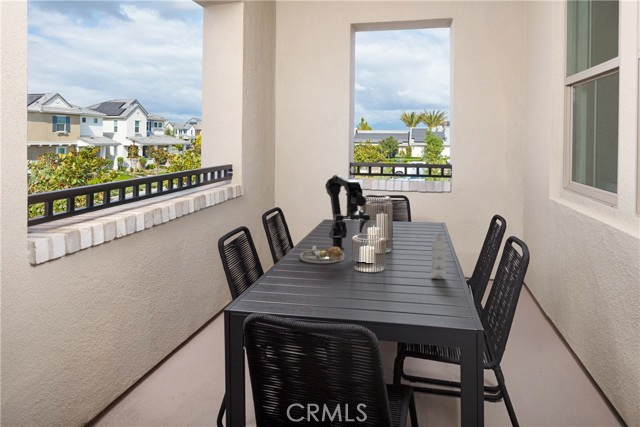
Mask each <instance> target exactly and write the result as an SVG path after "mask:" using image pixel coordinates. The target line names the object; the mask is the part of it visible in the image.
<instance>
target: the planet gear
mask: <svg viewBox="0 0 640 427" xmlns="http://www.w3.org/2000/svg"><path fill="white" fill-rule="evenodd" d="M327 250H328V255H329V256H331V257H339V256H341V252H342V249H340V248H339V247H331V246H330V248H328V249H327Z"/></svg>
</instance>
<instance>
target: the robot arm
mask: <svg viewBox="0 0 640 427" xmlns="http://www.w3.org/2000/svg"><path fill="white" fill-rule="evenodd" d="M326 181H327V182H325V185H324V186H325V190H326V193H327V194H328V195H329V197H330V203H331V204H330V205H331V211H332V220H333V222H332V224H331V229H330V231H329V233H328V238H330V239H332V245H331V246H330V247H339V248H340V249H341V250H344V249H345V248H344V246H343V239H346V238H347V233H348V230H347V229H348V228H347V223H346V222H345V220H350V221H355V220H357V221H359V228H358V229H359V234H361V233H362V231H363V228H364V226H365V224H366V223H367V222H368V221H370V220H371V215H369V214H368V213H364V211H363V210H361V209H360V210H359V207H364V206H365V205H366V202H367V200H366V197H365V196H363V194H364V192H363V189H362V186H361V184H360V182H359V181H358V180H351V179H349V178H347V177H345V176H344V175H342V174H334V175H333V176H332V177H331V178H330V179H328V180H326ZM342 187H343V188H344V189H343V190H345V191H346V193H345V196H346V215H343V214H342V210H341V202H340V197H339V196H340V193H341V191H342V190H341V188H342Z"/></svg>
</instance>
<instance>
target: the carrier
mask: <svg viewBox="0 0 640 427" xmlns="http://www.w3.org/2000/svg"><path fill="white" fill-rule="evenodd" d="M299 256H300V260H301V261H303V262H306V263H309V264H310V263H311V264H318V265H319V264H320V265H321V264H323V265H326V264H335V263H339V262H343V261H344V260H345V257H346V255H345V253H344V252H343V251H341V256H339V257H331V256H329V255H328V249H324V248H323V249H317V246H316V245H313V246H312V247H311V250H305V251H301V253H299Z"/></svg>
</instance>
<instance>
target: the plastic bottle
mask: <svg viewBox="0 0 640 427" xmlns="http://www.w3.org/2000/svg"><path fill="white" fill-rule="evenodd" d="M434 239H435V240H434V241H433V243H432V245H431V252H432V255H431V256H432V261H431V262H432V263H431V267H430V277H431V278H432V279H435V280H443V279H445V277H446V274H447V272H446V255H447V249H448V245H447V244H446V241H445V235H444V234H441V233H436V234H435V236H434Z"/></svg>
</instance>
